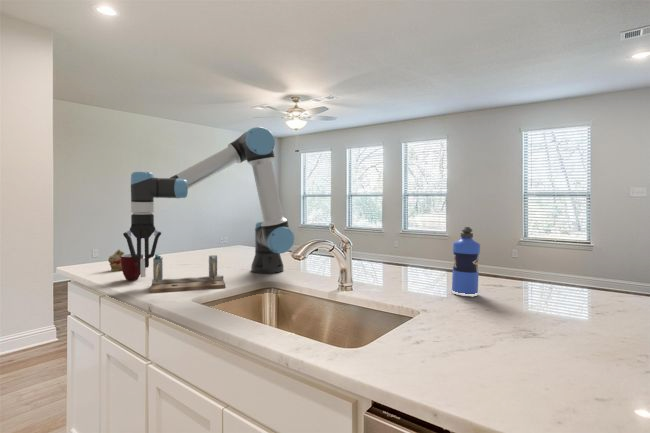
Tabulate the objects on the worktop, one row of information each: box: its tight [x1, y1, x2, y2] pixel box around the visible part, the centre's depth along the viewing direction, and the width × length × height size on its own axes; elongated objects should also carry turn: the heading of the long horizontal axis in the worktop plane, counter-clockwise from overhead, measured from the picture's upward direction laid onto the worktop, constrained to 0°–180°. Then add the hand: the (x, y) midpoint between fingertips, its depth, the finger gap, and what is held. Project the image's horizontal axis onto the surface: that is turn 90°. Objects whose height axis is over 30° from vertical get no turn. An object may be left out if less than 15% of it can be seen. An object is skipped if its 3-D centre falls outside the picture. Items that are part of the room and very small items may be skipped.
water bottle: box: [451, 226, 481, 294], centre depth 134 cm, size 9×9×25 cm
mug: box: [121, 253, 144, 282], centre depth 147 cm, size 11×8×10 cm
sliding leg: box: [152, 254, 164, 282], centre depth 135 cm, size 3×8×9 cm, turn 21°
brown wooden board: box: [149, 275, 226, 294], centre depth 139 cm, size 26×12×3 cm, turn 111°
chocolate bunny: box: [108, 248, 125, 272], centre depth 167 cm, size 6×8×10 cm
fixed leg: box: [208, 254, 218, 279], centre depth 143 cm, size 3×8×8 cm, turn 21°
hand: (143, 276), depth 136 cm, fingers closed
